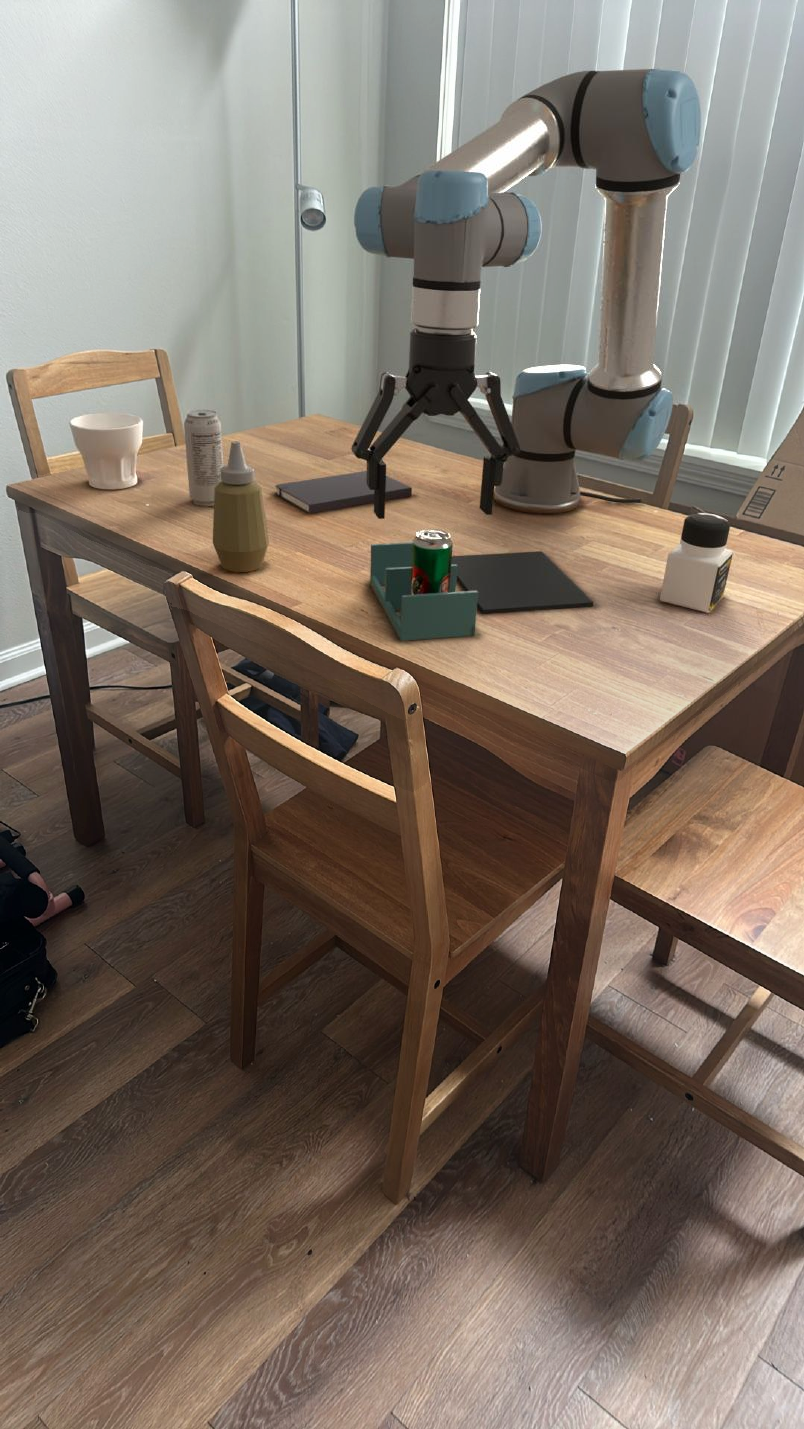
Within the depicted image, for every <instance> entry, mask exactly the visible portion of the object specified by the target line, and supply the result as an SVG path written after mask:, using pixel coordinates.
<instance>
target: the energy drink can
mask: <svg viewBox="0 0 804 1429" xmlns="http://www.w3.org/2000/svg"><path fill="white" fill-rule="evenodd" d="M183 429H184V430H183V431H184V442H185V453H186V456H185V457H186V468H187V481H188V493H189V499H191V500H192V501H193V504H194V505H197V506H200V507H214V492H215V486H216V485H217V484H218V483H220V482H221V474H220V469H221V468H222V467H224V454H223V438H222V423H221V421H220V419H219V418H218V416H217V412H216V411H215V410H210V409H193V410H189V411H187V412H186V418H185V420H184V422H183Z"/></svg>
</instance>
